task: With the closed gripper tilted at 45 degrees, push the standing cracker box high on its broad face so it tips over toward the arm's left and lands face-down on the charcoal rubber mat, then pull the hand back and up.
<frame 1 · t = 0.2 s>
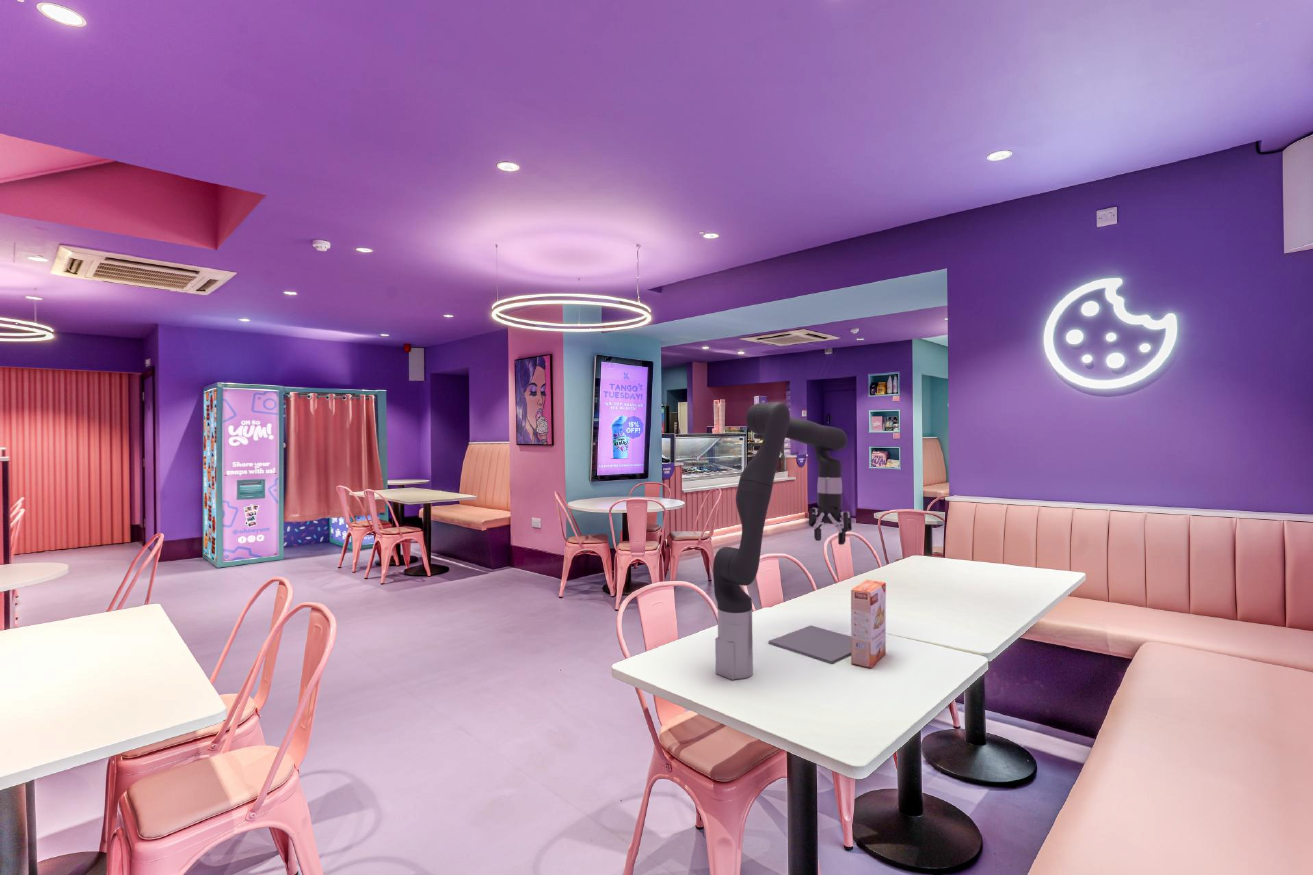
hand: (829, 542, 186), 29 cm above the table, tool pointing down, fingers open, 8 cm apart
cracker box: (869, 659, 165), on the table
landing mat: (820, 644, 178), on the table
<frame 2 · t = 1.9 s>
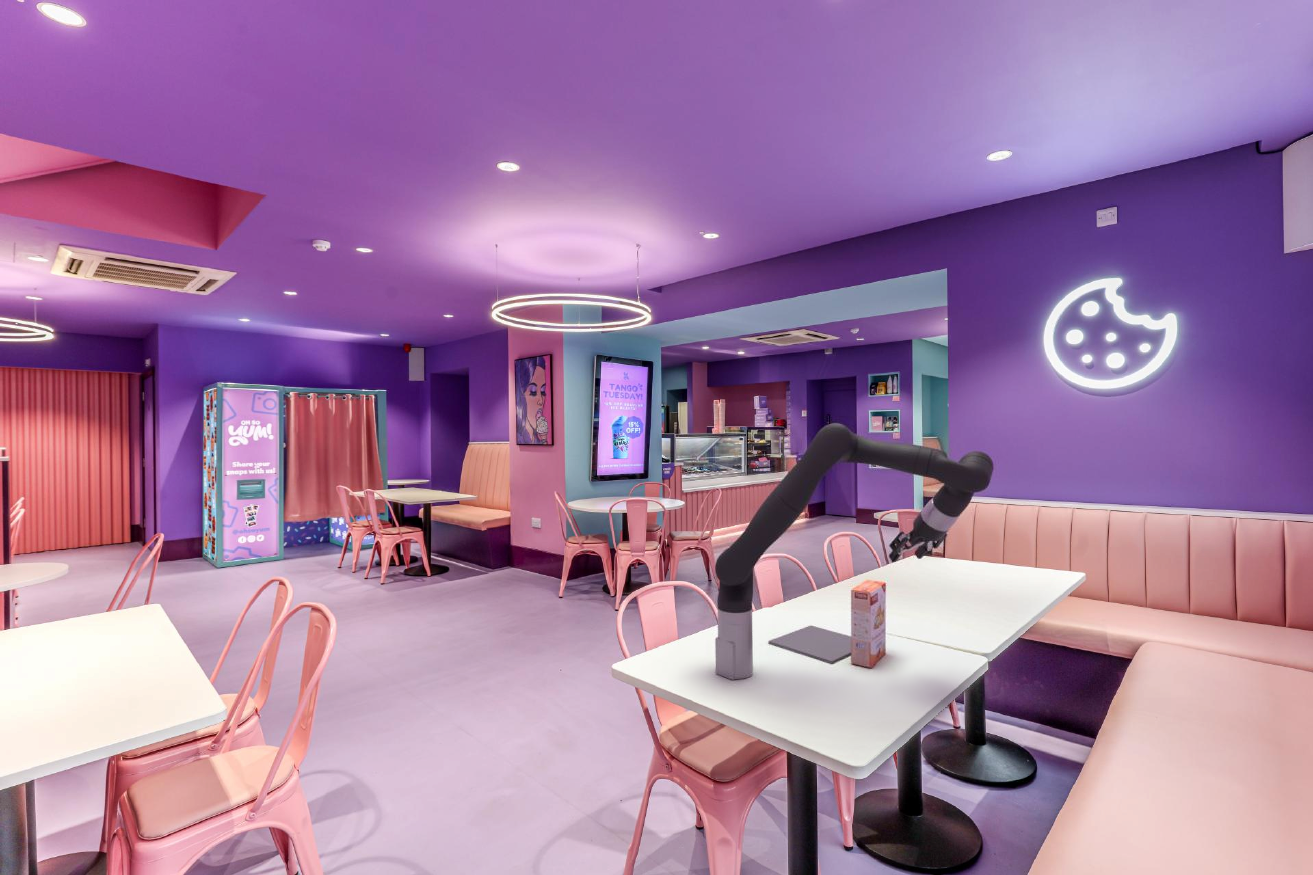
hand: (904, 557, 155), 31 cm above the table, tool tilted 45°, fingers open, 8 cm apart
nothing on the table moved.
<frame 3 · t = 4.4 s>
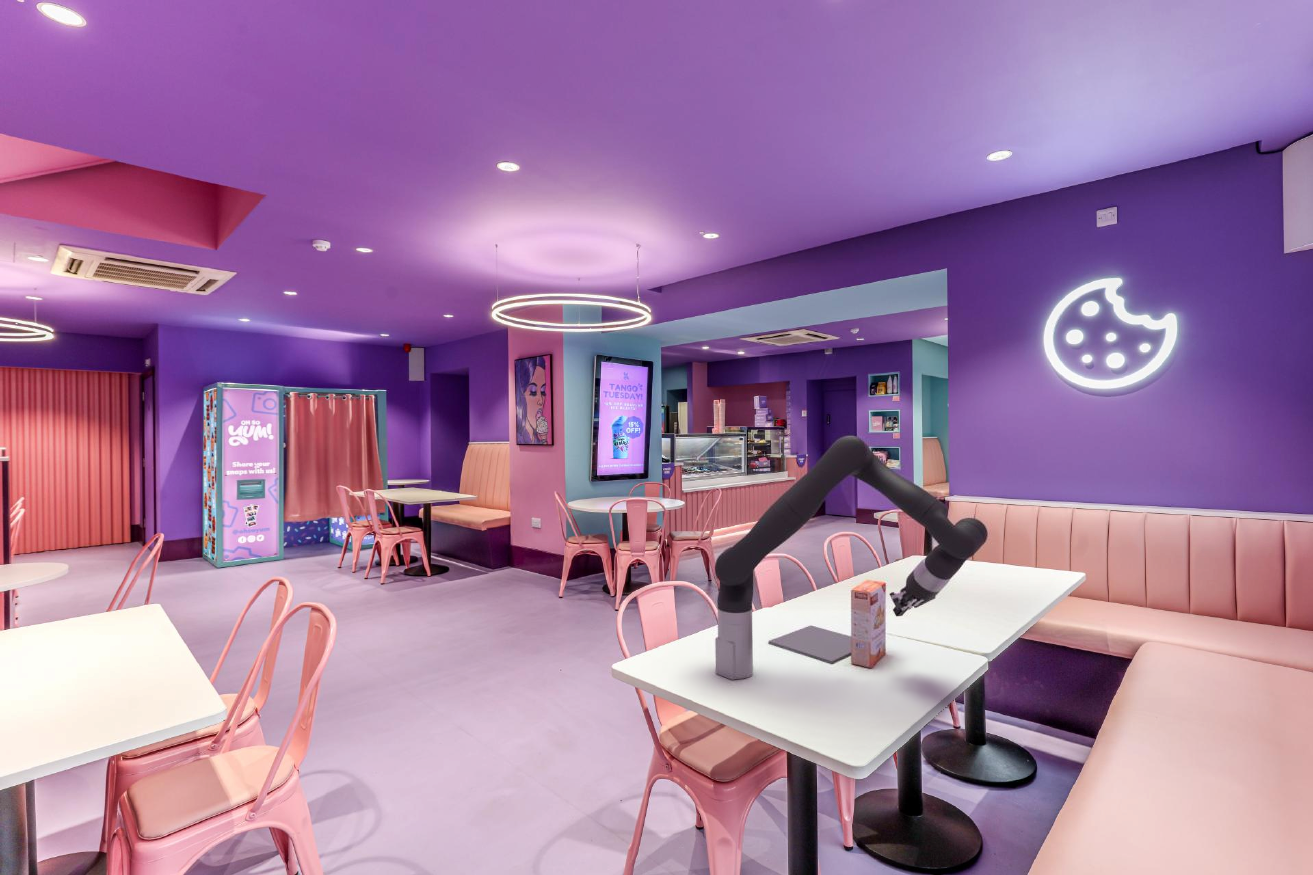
hand: (896, 613, 156), 16 cm above the table, tool tilted 45°, fingers closed
nothing on the table moved.
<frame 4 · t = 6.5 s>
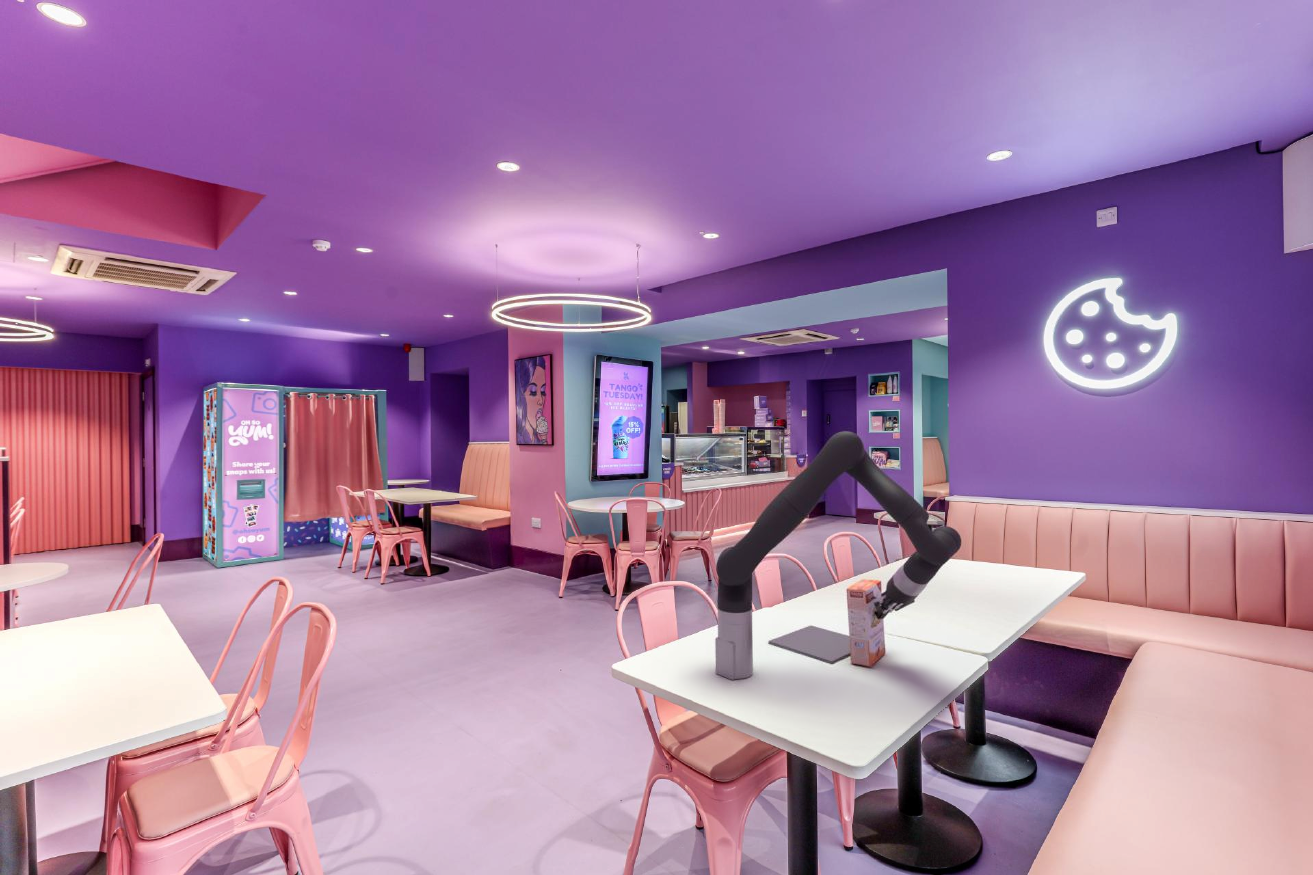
hand: (878, 616, 163), 13 cm above the table, tool tilted 45°, fingers closed
cracker box: (869, 659, 165), on the table, touching gripper
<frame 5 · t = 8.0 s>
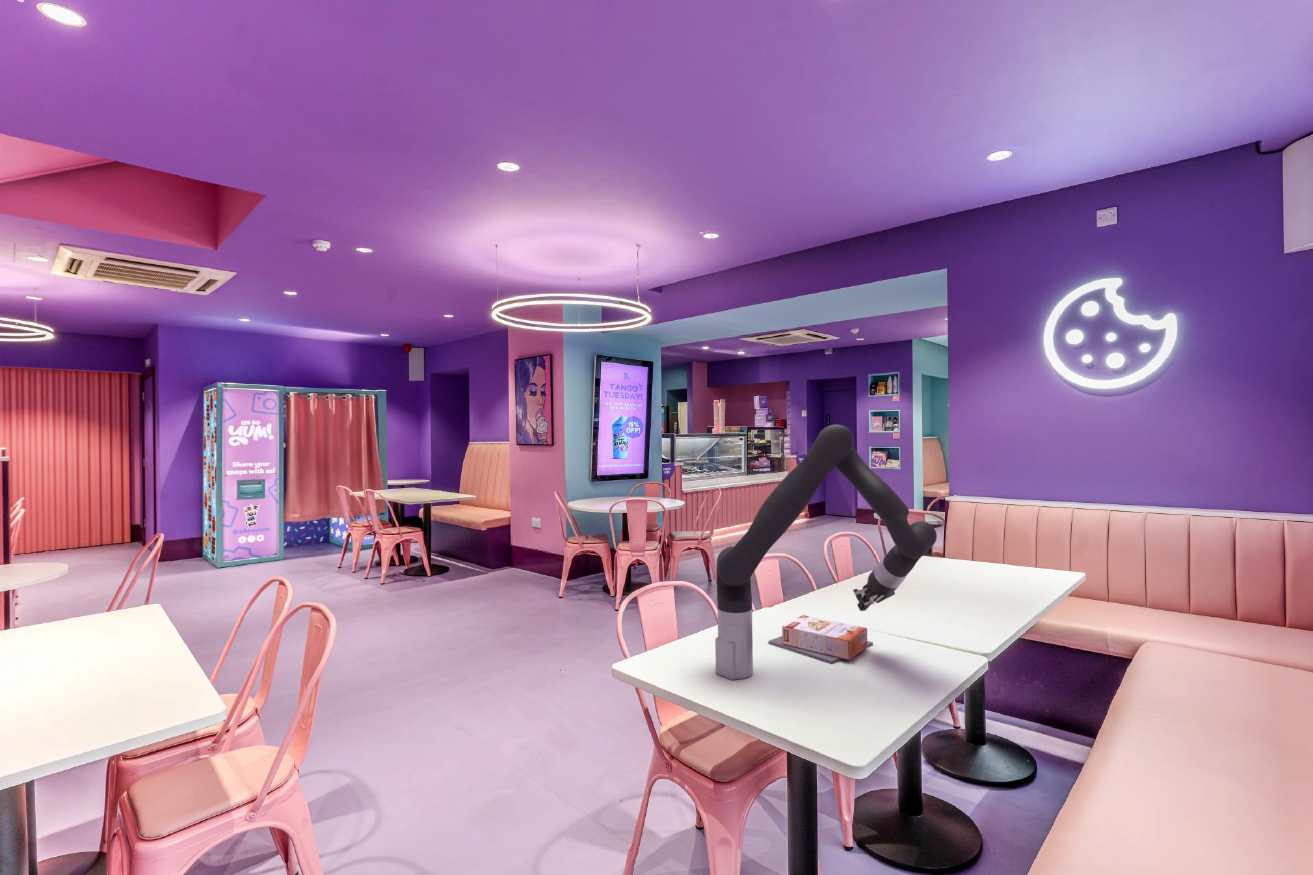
hand: (861, 607, 171), 13 cm above the table, tool tilted 45°, fingers closed
cracker box: (859, 643, 167), point 4 cm above the table, touching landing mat
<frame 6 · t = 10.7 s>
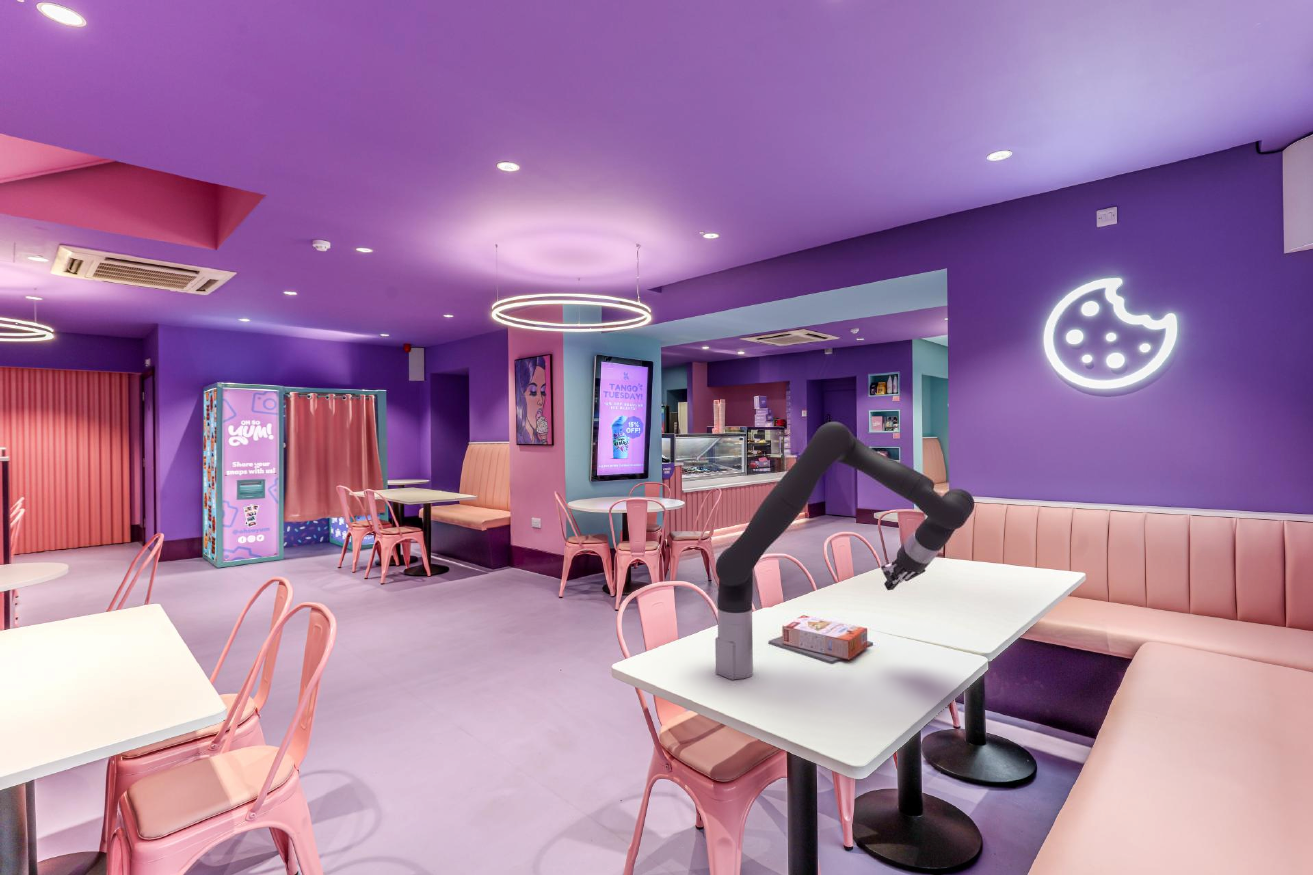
hand: (888, 587, 159), 22 cm above the table, tool tilted 45°, fingers closed
nothing on the table moved.
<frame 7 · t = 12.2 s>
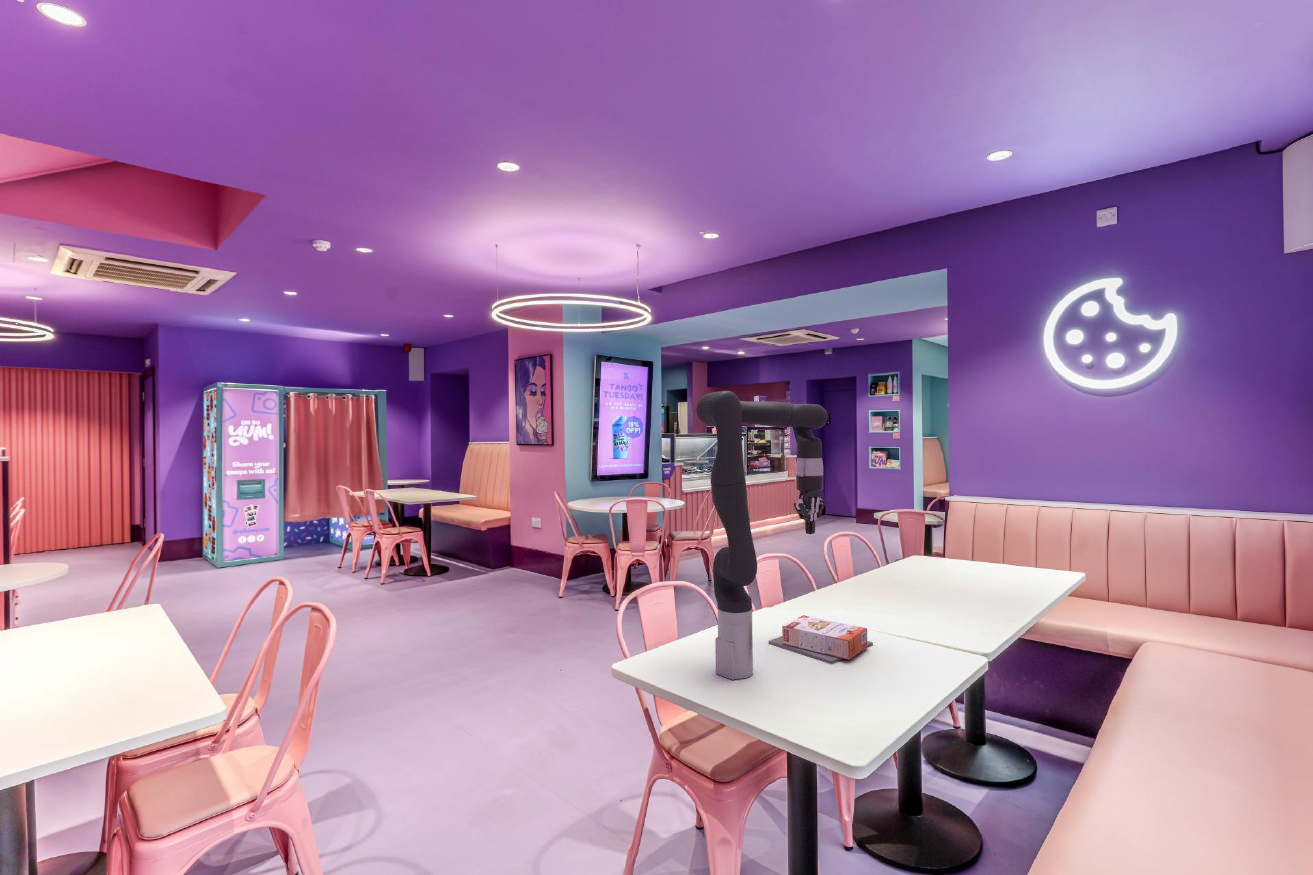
hand: (810, 533, 169), 35 cm above the table, tool pointing down, fingers closed
nothing on the table moved.
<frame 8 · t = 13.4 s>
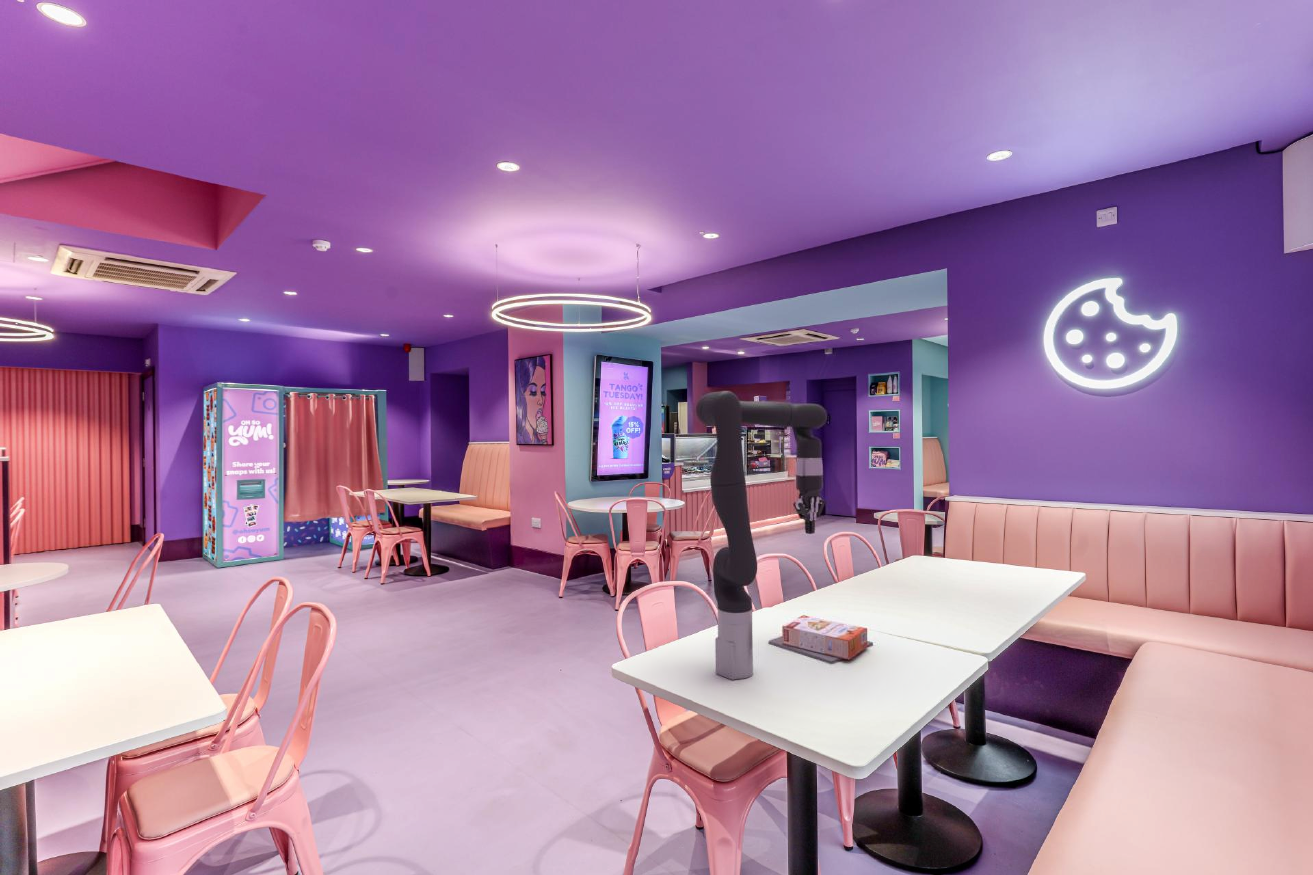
hand: (809, 533, 170), 35 cm above the table, tool pointing down, fingers closed
nothing on the table moved.
at the end: cracker box tilted 91°; cracker box inside the target area (2.7 cm from its centre), point 3.9 cm above the table; cracker box touching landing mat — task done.
